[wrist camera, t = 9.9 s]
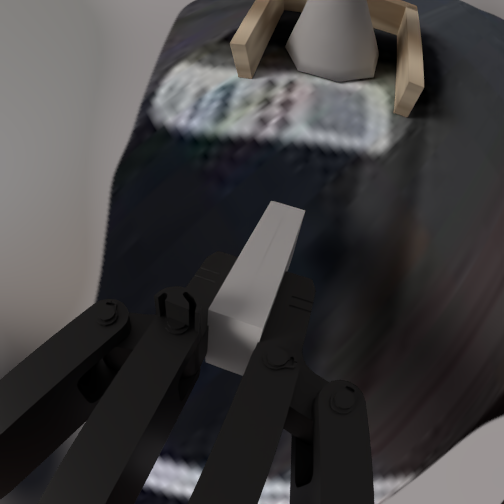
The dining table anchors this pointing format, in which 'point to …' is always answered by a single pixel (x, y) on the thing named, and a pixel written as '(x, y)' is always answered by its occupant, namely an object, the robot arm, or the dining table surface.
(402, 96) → the u-shaped wooden frame
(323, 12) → the flask
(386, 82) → the dining table surface
